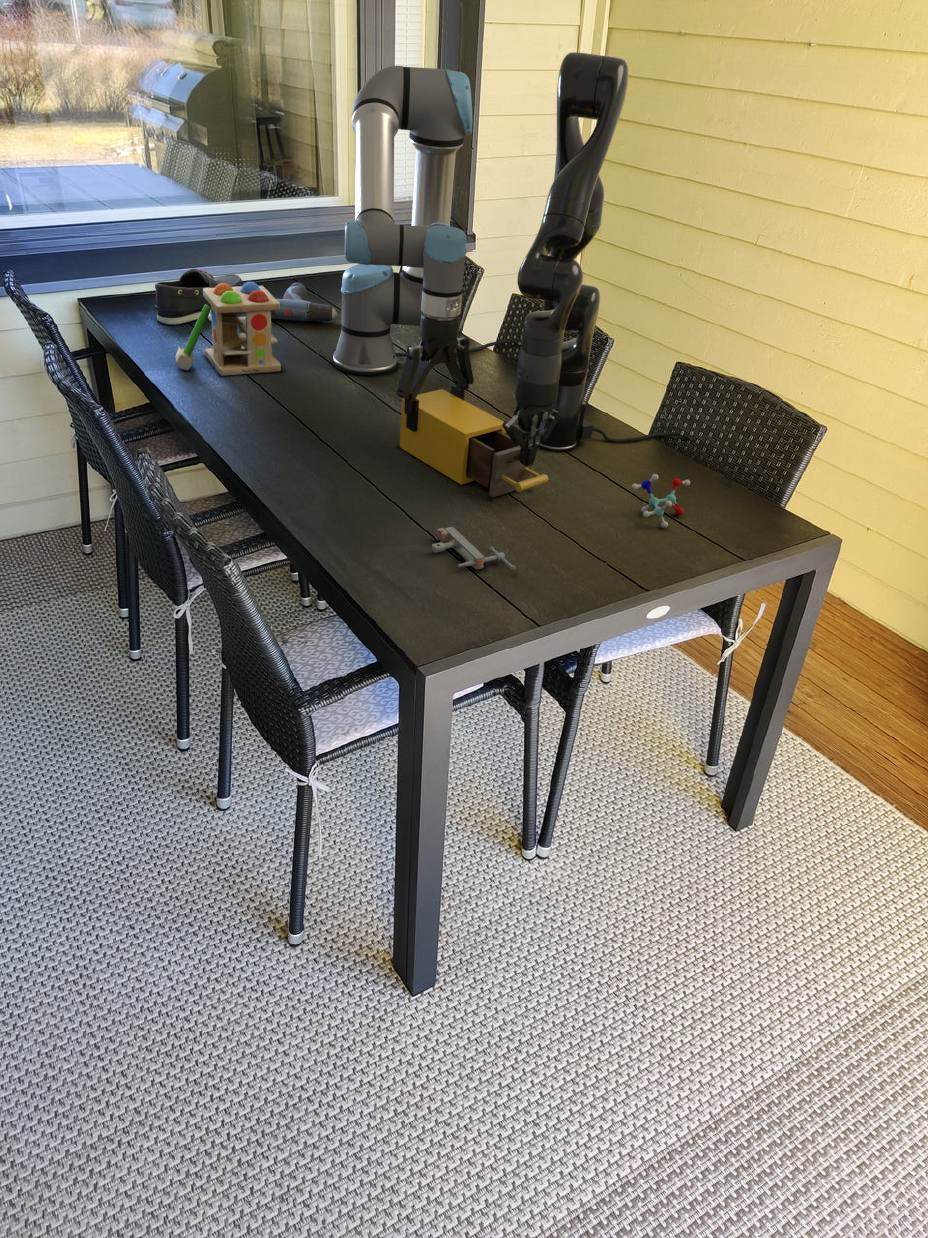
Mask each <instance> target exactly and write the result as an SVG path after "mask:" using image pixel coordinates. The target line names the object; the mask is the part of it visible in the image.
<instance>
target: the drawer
mask: <svg viewBox="0 0 928 1238" xmlns="http://www.w3.org/2000/svg"><path fill="white" fill-rule="evenodd" d="M520 448H521V447H520V446H518V445H516V444H515V443H513V442H512V440H511V439H510V437H509V436H508V434H507V433H503V432H501V431H499V430H496V431H493V432H489V433H485V434H482V435H478V436H474V437H471V438H469V446H468V457H467V468H466V475H467V476H468V477H470V478H472V479H473V480H475V482H476V483H478V484H480V485H481V486H483V487H485V488H487V489H489V496H491V497H492V498H496V497H498V496H502V495H505V494H508V493H512V492H513V491H516V492H518V493H519V492H523V491H526V490H529V489H532V488H536V487H538V486H542V485H544V484H547V483H548V482H549V476H548V475H547V474H546V473H542V474H539V473H538V472H536V471H534V470H533V469H532V467H533V465H530V466H527V467H526V466H524V465H523V464H521V463H520V461H519V456H520ZM531 476H532V477H531Z"/></svg>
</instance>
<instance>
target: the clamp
mask: <svg viewBox="0 0 928 1238" xmlns="http://www.w3.org/2000/svg"><path fill="white" fill-rule="evenodd" d="M436 541H439V542H436V543H432V544H431V551H432V552H433V553H435V554H437V553H441V552H445V551H446V550H447V549H451V548H453V549H454V550H455V551H456V552H457V553H458V554H459V555H460V556H461V557H462V558H463V559H464V560H465V562H462V563H459V564H457V567H458V568H462V567H472V568H473V569H475V570H480V569H483V568H484V563H488V562H492V561H496V562H499V561H502V562H503V563H504V564H505V565H506V566H507V567H508V568H509V569H510V571H511V572H514V571H515V570H516V568H517V567H516V565H514V564H511V563H510V562H509V561H508V560H507V559H506V554H505V552H503V551H501V552H498V551H497V550H495V547H494V546H490V547H489V549H488V551H489V552H490V553H493V554H494V555H491V556H486V557H485V556H484V554H482V553H481V551H479V550H478V549H477V548H476V547H475V546H474V545H473V544H472V543H471V542H470V541H469V540H467V538H466V537H464V535H462V534H461V533H460V532H459V531H458V530H457V529H456V528H455V527H454V526H448V527H445V528H444V527H440V528H437V529H436Z"/></svg>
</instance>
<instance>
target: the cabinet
mask: <svg viewBox="0 0 928 1238" xmlns="http://www.w3.org/2000/svg"><path fill="white" fill-rule="evenodd" d="M416 399H418V400H419V409H418V426H417V432H413V431H411V430H410V429H408V428H406V417H407V414H405V412H404V409H405V408H404V407H405V399H404V398H402V397H401V410H400V429H399V448H401V449H402V450H403V451H405V452H407V453H408V454H410V455H412V456H413V457H415V458H417V459H419V460H420V461H422V462H423V463H425V464H426V465H428V466H430V467H431V468H433V469H435V470H437V471H438V472H440V473H441V474H443V475H444V476H445V477H448V478H449V479H451V480H453V481H454V482H455V483H458V484H459V485H460V486H461V485H465V484H468V483H471V482H474V481H475V480H473V479H472V478H470V477H468V476H467V475H466V468H467V457H468V446H469V438H471V437H474V436H478V435H482V434H485V433H489V432H493V431H496V430H499V431H501V432H503V433H505V434H507V432H506V431H505V429H504V428H503V426H502V425H503V422H504V421H505V420H504V421H503V420H502V419H499V418H498V417H496V416H494V415H492V414H491V413H489V412H487V411H485V410H483V409H481V408H479V407H478V406H475V405H473V404H471V403H470V402H468V401H465V399H464V400H462V399H460V398H458V397H456V396H454V395H453V394H451V392H449V391H447V390H445V389H443V388H441V389H437V390H433V391H428V392H424V393H420V394H419V393H418V395H417V397H416ZM475 482H476V481H475Z"/></svg>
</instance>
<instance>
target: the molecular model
mask: <svg viewBox="0 0 928 1238" xmlns="http://www.w3.org/2000/svg"><path fill="white" fill-rule="evenodd" d="M657 480H659V475H658V474H657V473H653V474H652V475H651V478H649V480H648V479H646V480H643V481H642V482H641V483H639V484H637V483H632V485H631V489H632V490H633V491H637V490H638V489H639V488H640V489H641V488H642V489H643V490H646V491H647V494H648V496H649V501H648V505H646V506H642V507H641V509H640V510H641V513H642V517H644V518H647V519H648V518H649V517H650V516H655V517H657V518H659V519H660V522H661V523H660V525H661V527H662V528H663V529H666V528H668V526H669V523H668V521H666V520H665V518H664V516H663V515H664V513H665V510H666V509H667V508H671V507H672V508H673V509H674V513H675V515H676V516H682V515H683V514H684V512H685V511H684V508H683V507H681V506H680V505H679V504H678V502H677V497H676V495H675V494H676V490H677V488H678V487H679V486H681V485H683V486H685V487H689V486H690V484H691V480H689V479H685V480H681V479H680V478H678V477H675V478H673V479H672V480H671V485H672V489H671V492H670V493H669V494H667V495H666V497H664V498H658V497H656V496H654V495H653V492H652V490H651V487H652V483H653V482H654V481H657ZM660 503H664V505H663V506H662V507H661V506H659V504H660ZM651 507H652V508H654V510H653V511H649V509H650V508H651Z"/></svg>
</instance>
